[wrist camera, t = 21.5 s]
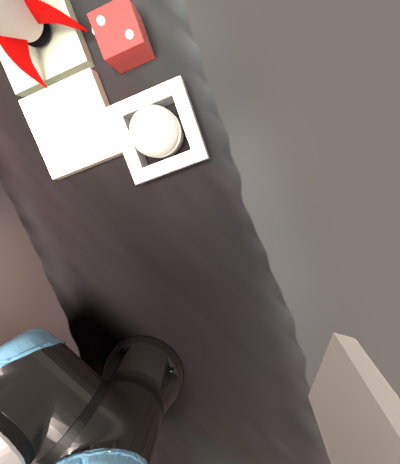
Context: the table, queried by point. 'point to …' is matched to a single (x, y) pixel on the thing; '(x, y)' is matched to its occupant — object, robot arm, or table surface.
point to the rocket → (28, 30)
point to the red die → (121, 35)
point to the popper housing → (163, 96)
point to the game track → (65, 101)
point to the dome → (156, 131)
